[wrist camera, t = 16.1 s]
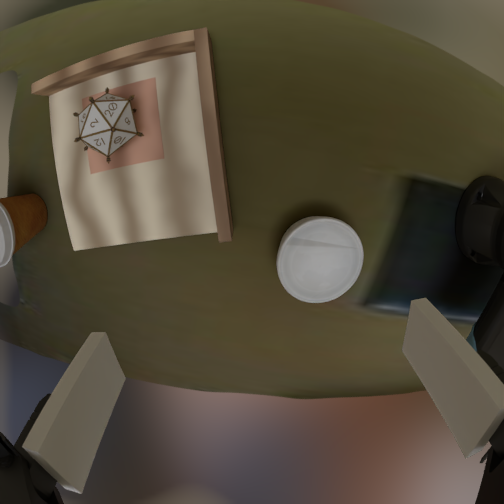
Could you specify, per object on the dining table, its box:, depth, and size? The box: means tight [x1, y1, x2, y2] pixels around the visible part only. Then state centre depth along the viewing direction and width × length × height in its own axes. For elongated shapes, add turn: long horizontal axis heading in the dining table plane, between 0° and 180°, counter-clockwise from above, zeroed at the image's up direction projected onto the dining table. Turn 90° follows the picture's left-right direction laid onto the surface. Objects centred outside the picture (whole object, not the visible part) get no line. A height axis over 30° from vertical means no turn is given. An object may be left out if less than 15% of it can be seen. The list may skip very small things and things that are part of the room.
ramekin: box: [276, 216, 364, 303], centre depth 39 cm, size 11×11×5 cm
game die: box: [73, 87, 144, 164], centre depth 30 cm, size 9×8×10 cm
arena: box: [32, 28, 233, 251], centre depth 33 cm, size 24×26×5 cm
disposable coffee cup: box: [0, 194, 48, 267], centre depth 32 cm, size 10×10×12 cm
